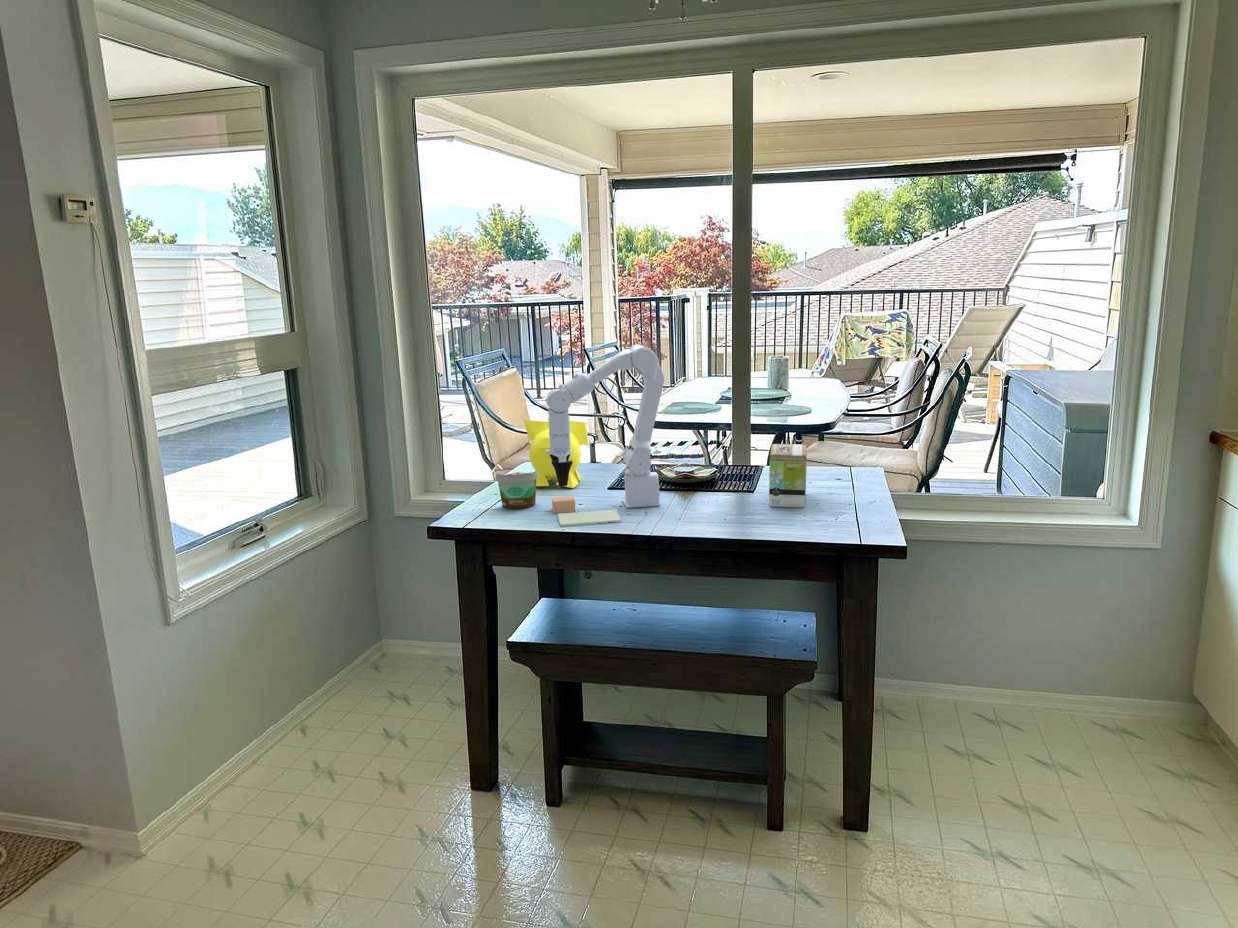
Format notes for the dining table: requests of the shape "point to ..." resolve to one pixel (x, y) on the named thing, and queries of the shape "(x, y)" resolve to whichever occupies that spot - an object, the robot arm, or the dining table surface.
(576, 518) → the mat
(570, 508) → the light orange block
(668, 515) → the dining table surface
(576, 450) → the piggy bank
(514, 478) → the food container
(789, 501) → the tea box
